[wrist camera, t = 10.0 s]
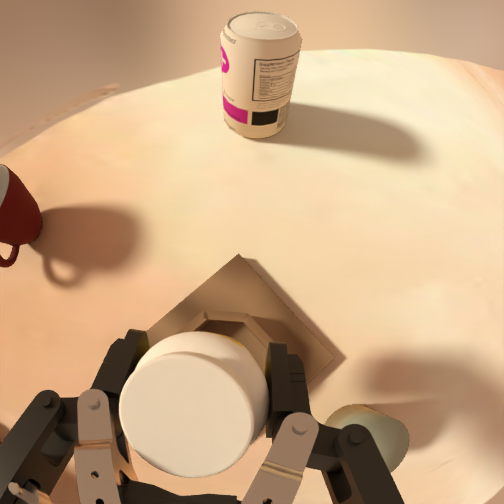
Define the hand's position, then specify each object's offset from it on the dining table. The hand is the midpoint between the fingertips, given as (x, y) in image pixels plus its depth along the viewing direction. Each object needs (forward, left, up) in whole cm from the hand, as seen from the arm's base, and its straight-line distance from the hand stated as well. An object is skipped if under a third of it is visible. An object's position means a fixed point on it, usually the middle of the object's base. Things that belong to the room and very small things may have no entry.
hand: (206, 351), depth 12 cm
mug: (-12, +26, -16) cm, 33 cm away
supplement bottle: (-1, -1, -5) cm, 5 cm away
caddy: (-1, -1, -16) cm, 16 cm away
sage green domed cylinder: (+3, -16, -16) cm, 23 cm away
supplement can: (+21, +19, -16) cm, 32 cm away
